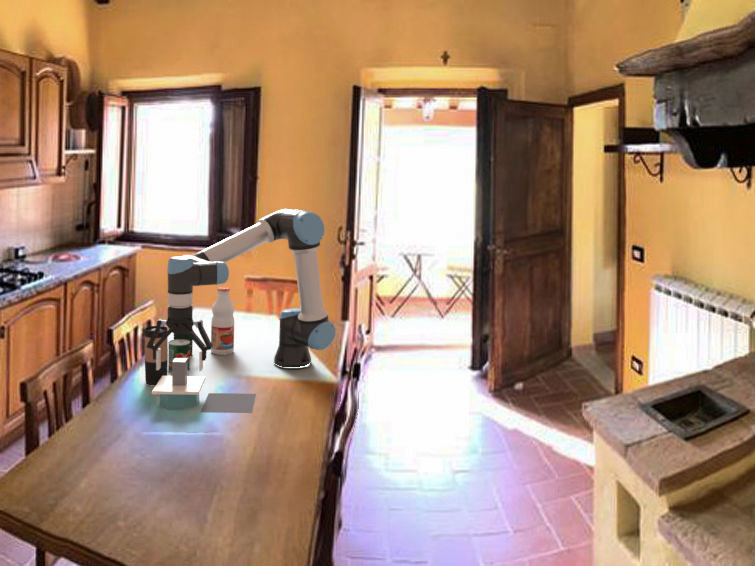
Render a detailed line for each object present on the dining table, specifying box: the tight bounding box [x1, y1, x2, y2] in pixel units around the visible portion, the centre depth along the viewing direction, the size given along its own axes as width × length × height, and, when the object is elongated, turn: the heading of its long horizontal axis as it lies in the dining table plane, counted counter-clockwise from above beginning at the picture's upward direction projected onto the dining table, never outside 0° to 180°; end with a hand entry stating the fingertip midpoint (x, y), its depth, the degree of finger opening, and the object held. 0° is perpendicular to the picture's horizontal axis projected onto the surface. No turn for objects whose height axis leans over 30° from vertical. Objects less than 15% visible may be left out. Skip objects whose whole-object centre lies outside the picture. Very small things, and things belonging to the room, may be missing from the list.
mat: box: [200, 392, 257, 414], centre depth 187 cm, size 16×16×1 cm
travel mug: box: [144, 325, 169, 387], centre depth 200 cm, size 8×8×20 cm
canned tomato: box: [167, 339, 191, 373], centre depth 215 cm, size 8×8×11 cm
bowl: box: [158, 393, 200, 410], centre depth 184 cm, size 12×12×6 cm
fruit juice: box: [210, 286, 235, 356], centre depth 238 cm, size 9×9×28 cm
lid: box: [151, 358, 206, 395], centre depth 183 cm, size 14×14×9 cm
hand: (179, 369), depth 183 cm, fingers open, 13 cm apart
